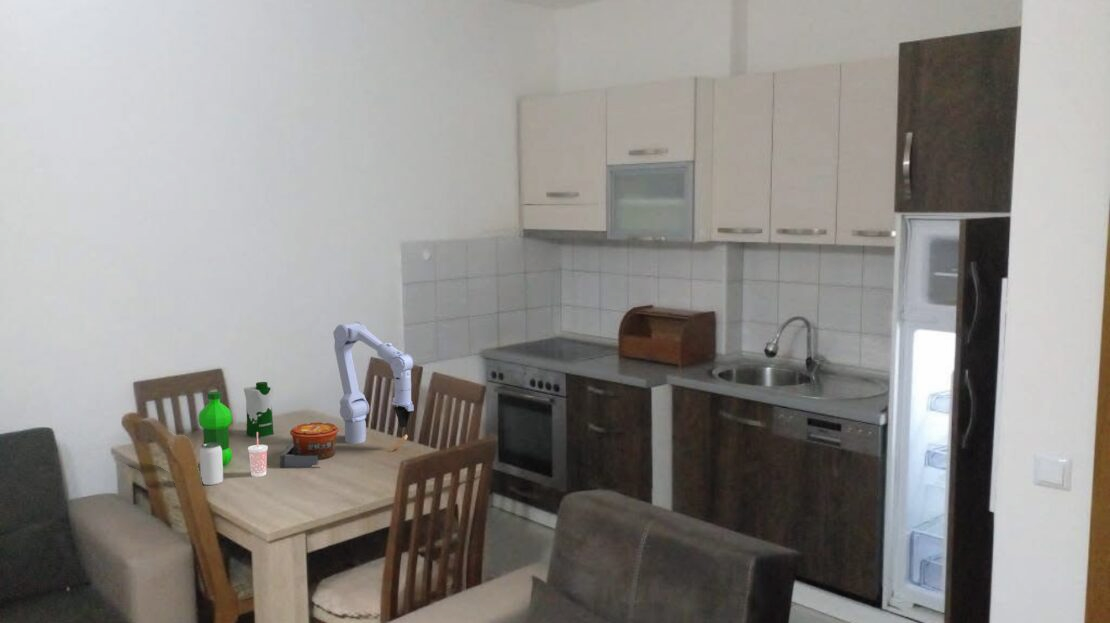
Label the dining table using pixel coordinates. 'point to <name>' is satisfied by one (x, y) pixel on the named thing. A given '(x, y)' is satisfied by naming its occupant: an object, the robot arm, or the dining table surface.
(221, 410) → the plastic bottle
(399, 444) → the latch flap
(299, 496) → the dining table surface
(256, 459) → the beverage cup
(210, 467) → the can
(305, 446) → the food container
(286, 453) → the tray
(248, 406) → the milk carton
